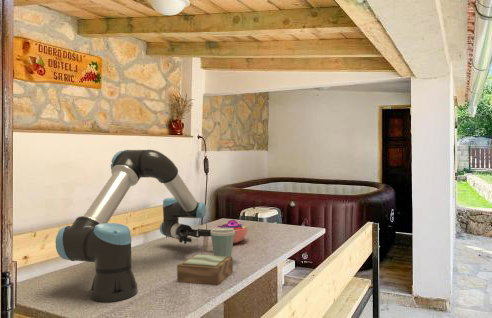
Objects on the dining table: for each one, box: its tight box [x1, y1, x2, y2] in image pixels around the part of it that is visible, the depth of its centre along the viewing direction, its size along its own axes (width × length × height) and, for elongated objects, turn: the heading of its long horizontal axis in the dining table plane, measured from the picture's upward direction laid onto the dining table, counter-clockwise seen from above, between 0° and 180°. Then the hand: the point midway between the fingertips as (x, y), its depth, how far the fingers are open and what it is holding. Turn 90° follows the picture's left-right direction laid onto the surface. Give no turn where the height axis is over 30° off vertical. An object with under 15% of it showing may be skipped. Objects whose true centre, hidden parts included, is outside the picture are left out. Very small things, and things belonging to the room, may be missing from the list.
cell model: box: [215, 219, 248, 244], centre depth 210 cm, size 17×20×11 cm
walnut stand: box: [176, 254, 234, 286], centre depth 153 cm, size 16×16×6 cm
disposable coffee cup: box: [210, 227, 235, 257], centre depth 172 cm, size 11×11×15 cm
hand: (209, 238), depth 179 cm, fingers open, 13 cm apart
